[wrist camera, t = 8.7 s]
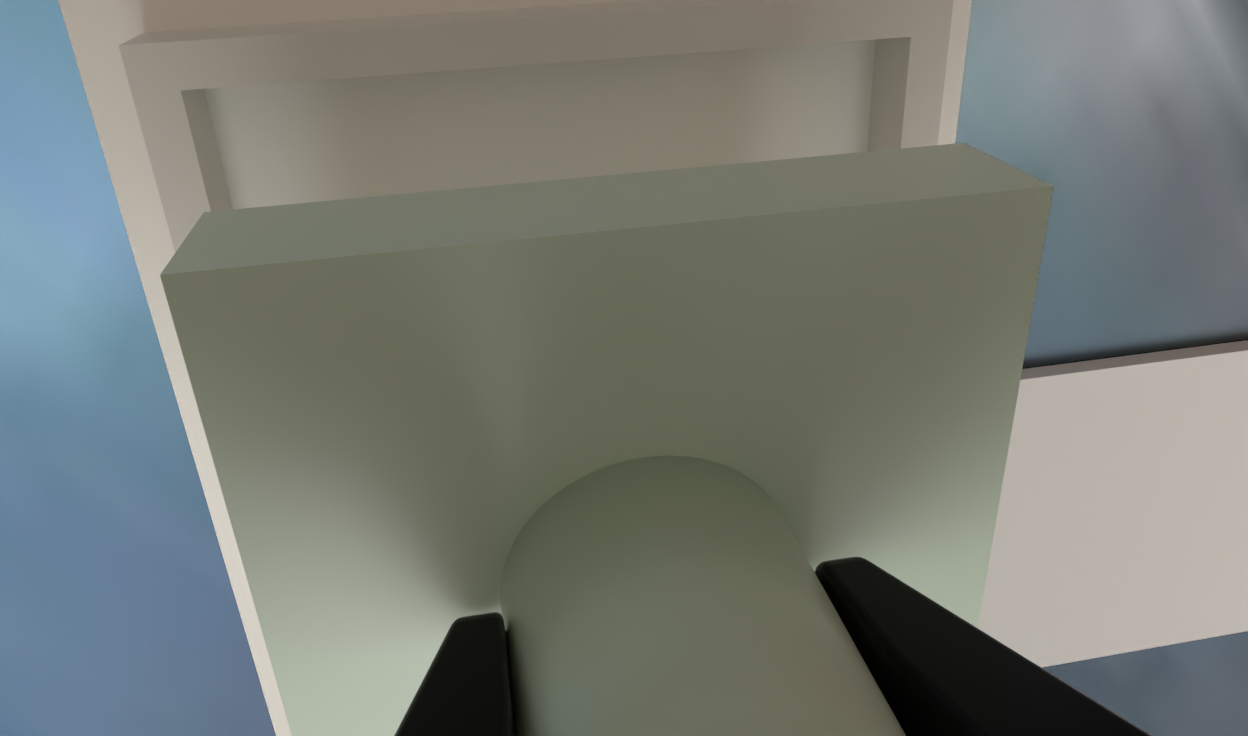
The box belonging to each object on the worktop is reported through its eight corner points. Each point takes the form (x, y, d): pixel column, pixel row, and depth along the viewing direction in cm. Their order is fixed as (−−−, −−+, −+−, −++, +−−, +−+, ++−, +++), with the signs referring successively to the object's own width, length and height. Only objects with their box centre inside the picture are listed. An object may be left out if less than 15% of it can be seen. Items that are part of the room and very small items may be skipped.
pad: (1243, 618, 24) (1255, 629, 23) (943, 670, 22) (951, 683, 22) (1341, 328, 20) (1358, 336, 20) (989, 373, 19) (1000, 382, 18)
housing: (813, 820, 24) (878, 979, 21) (373, 906, 23) (363, 1093, 19) (882, -94, 14) (1026, -88, 11) (124, -55, 13) (10, -33, 9)
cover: (897, 678, 12) (1196, 1187, 8) (347, 774, 11) (285, 1430, 7) (963, 142, 9) (1562, 432, 4) (203, 212, 8) (-129, 686, 3)
